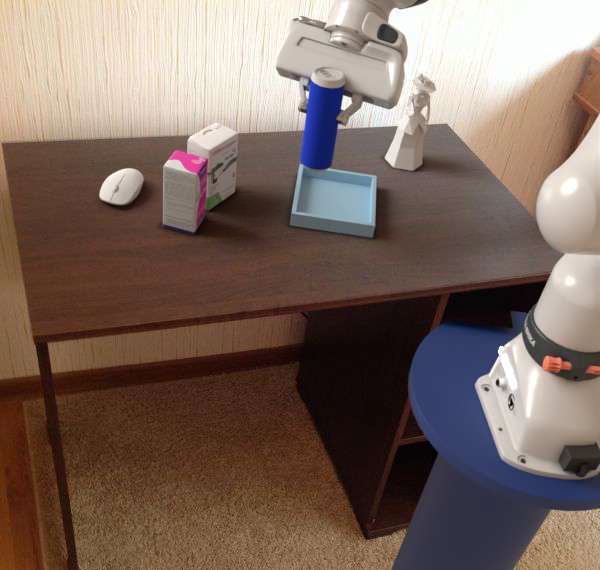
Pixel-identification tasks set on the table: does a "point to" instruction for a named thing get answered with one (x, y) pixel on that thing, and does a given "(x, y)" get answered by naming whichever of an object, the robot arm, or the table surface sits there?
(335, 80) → the beverage can
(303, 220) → the tray
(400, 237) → the table surface
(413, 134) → the figurine
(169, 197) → the supplement box
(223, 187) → the ink box
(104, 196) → the computer mouse
